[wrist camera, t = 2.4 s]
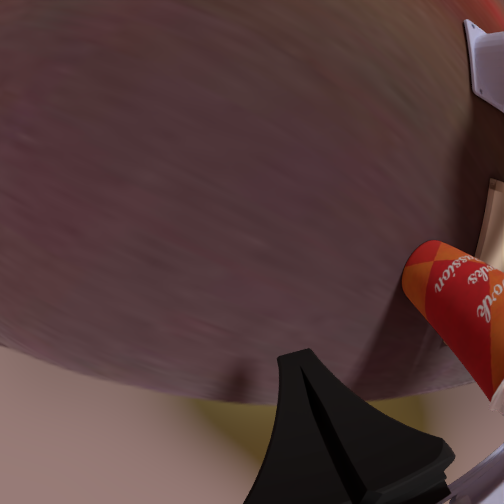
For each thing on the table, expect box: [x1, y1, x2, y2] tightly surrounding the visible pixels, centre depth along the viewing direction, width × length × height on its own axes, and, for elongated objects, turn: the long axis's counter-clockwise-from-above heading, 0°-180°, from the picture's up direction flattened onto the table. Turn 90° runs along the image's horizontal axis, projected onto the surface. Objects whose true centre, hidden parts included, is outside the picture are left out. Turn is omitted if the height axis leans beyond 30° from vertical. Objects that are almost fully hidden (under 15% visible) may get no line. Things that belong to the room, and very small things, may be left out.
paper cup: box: [402, 240, 504, 416], centre depth 14 cm, size 8×8×14 cm
